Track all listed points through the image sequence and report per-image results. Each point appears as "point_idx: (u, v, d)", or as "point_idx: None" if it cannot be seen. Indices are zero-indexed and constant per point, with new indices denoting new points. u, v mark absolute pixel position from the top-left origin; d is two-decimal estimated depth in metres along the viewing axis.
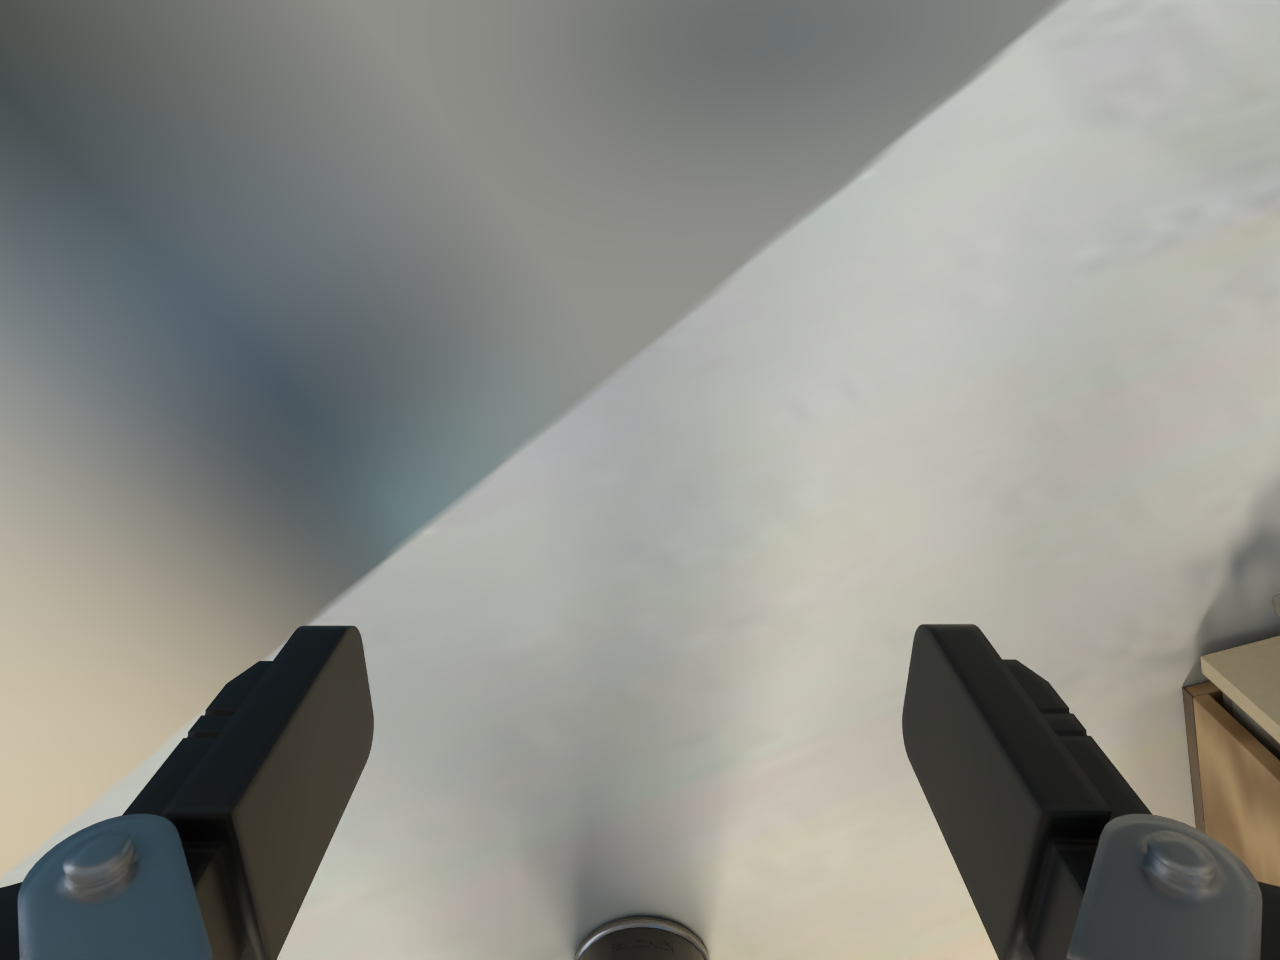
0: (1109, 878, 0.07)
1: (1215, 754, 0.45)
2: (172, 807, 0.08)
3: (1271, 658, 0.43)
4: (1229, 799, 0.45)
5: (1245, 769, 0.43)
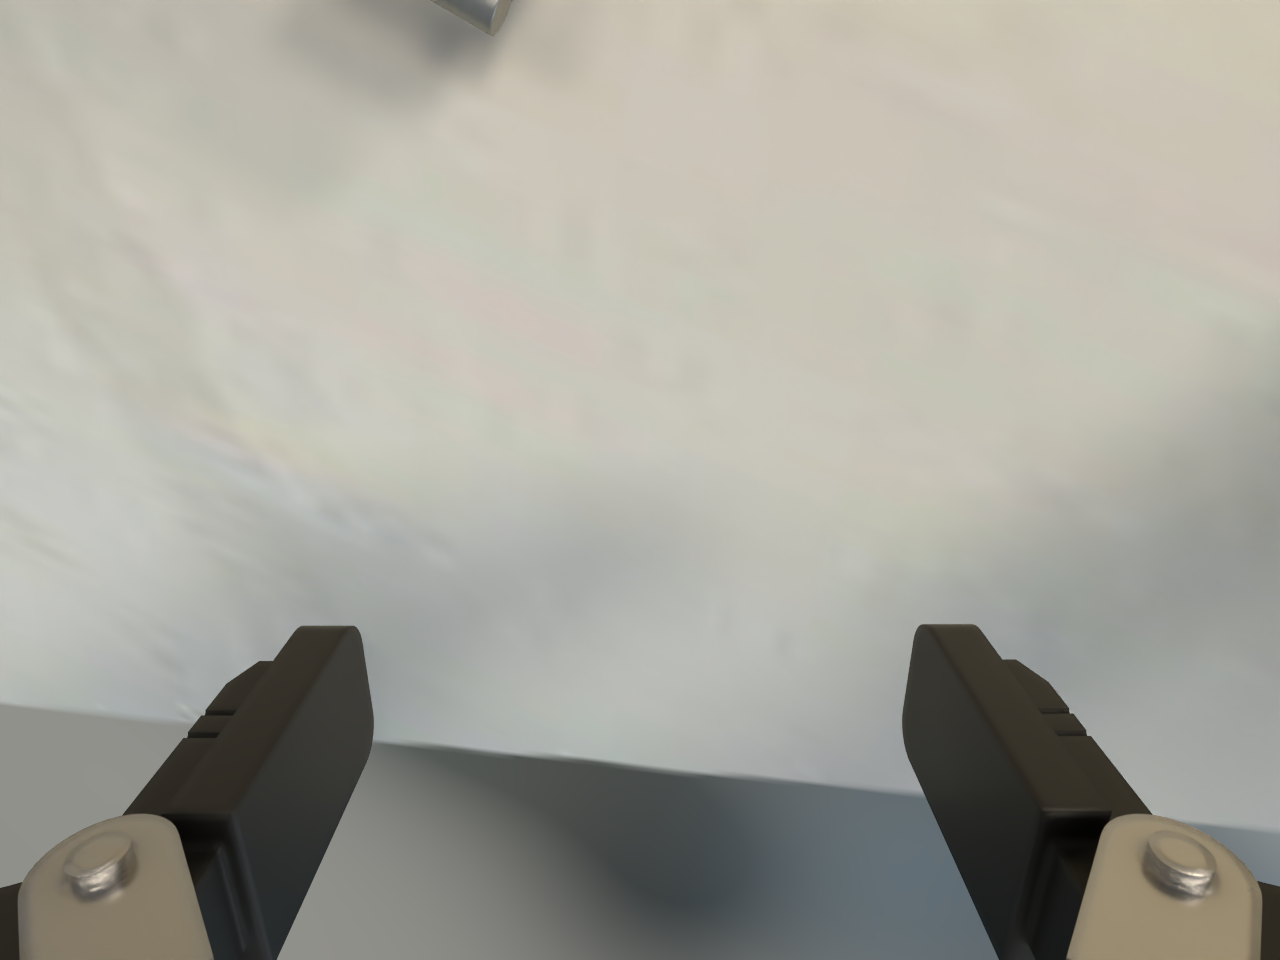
0: (1109, 878, 0.07)
1: None
2: (172, 807, 0.08)
3: None
4: None
5: None
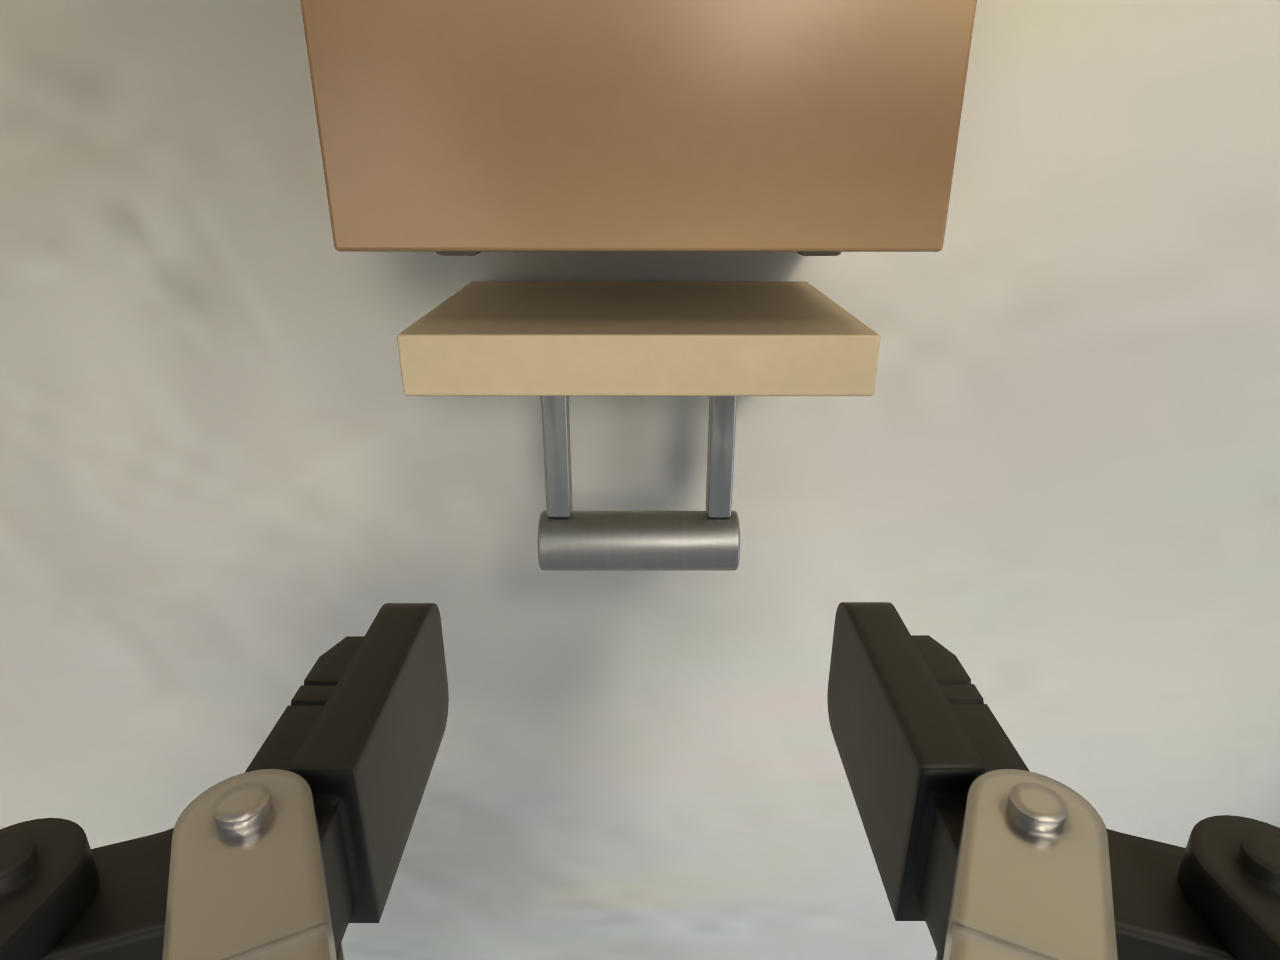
0: (980, 836, 0.07)
1: None
2: (297, 764, 0.08)
3: None
4: None
5: None
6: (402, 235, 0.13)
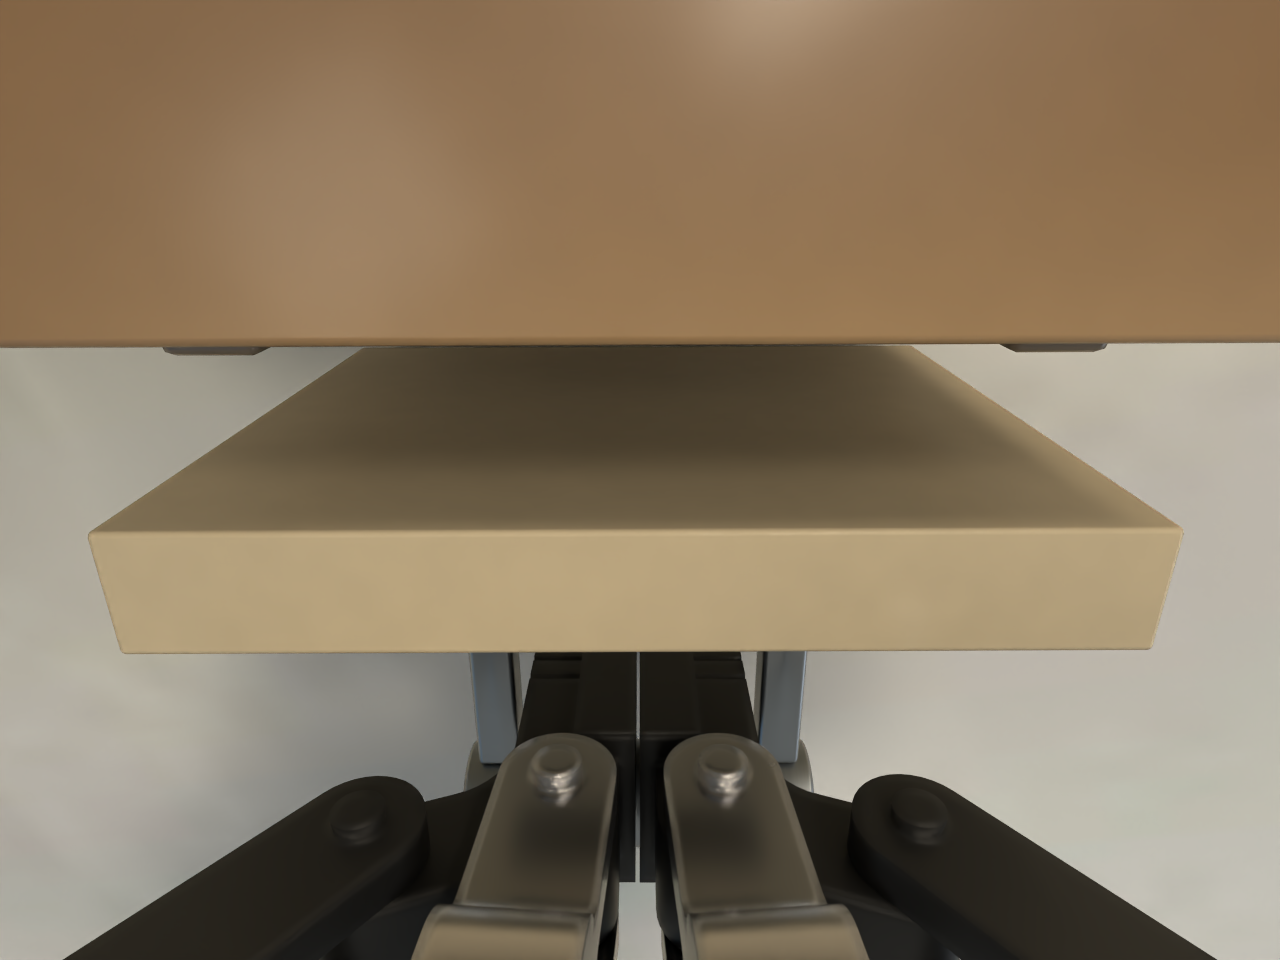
0: (684, 813, 0.08)
1: None
2: (581, 729, 0.09)
3: None
4: None
5: None
6: None
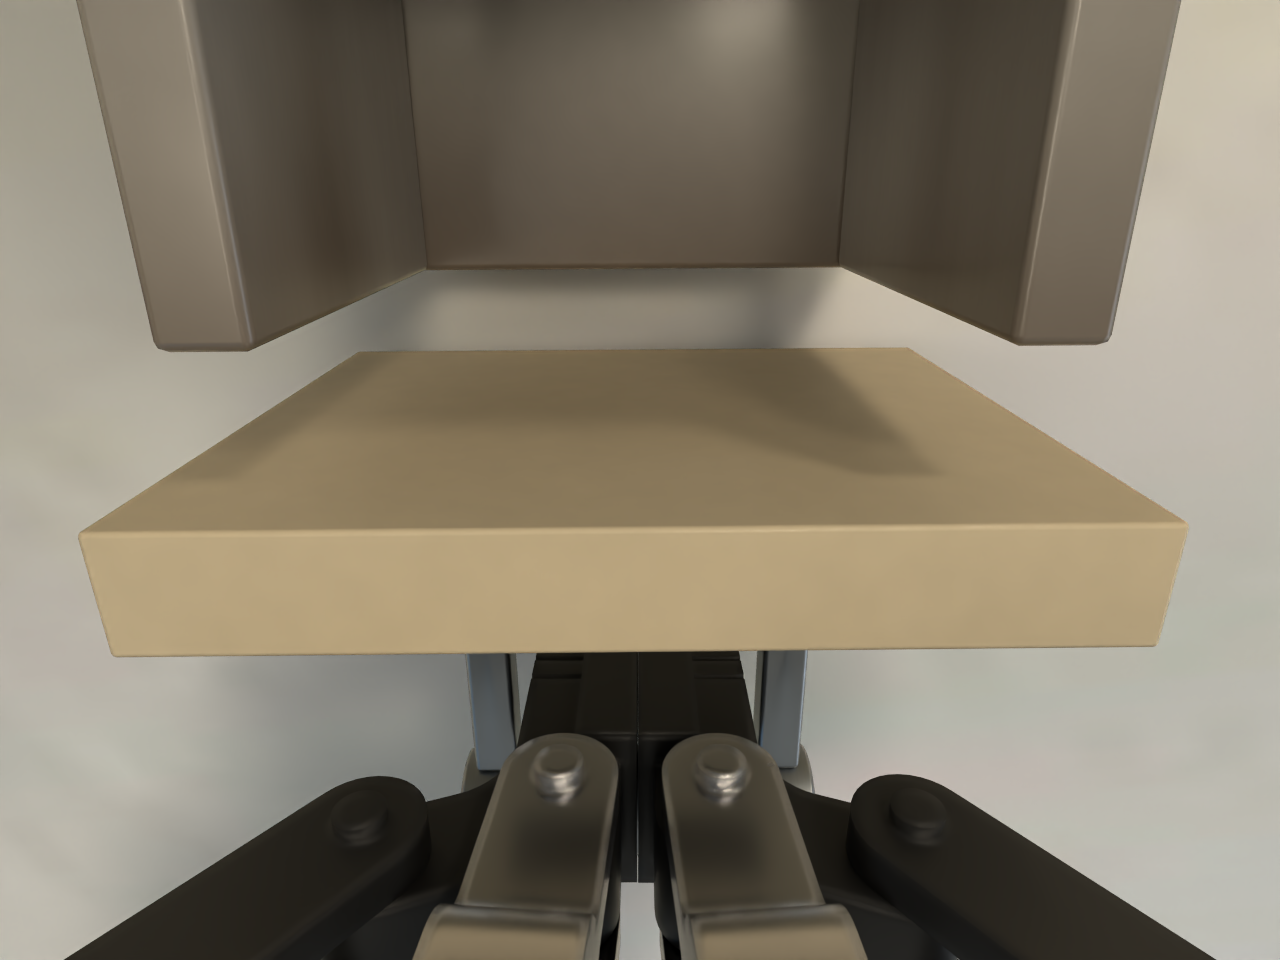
0: (682, 813, 0.08)
1: None
2: (583, 729, 0.09)
3: None
4: None
5: None
6: None
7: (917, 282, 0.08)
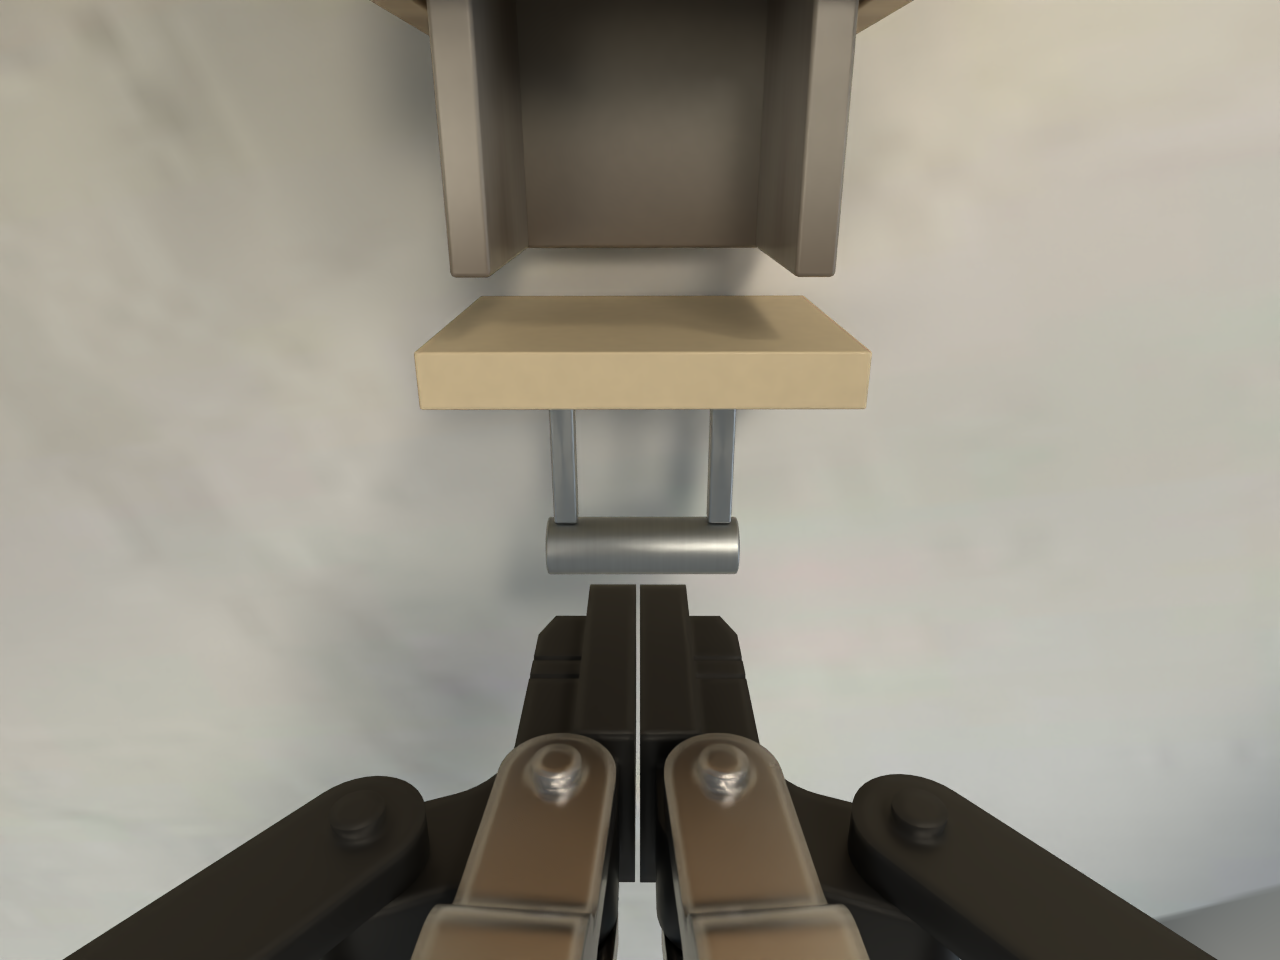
0: (684, 813, 0.08)
1: None
2: (581, 729, 0.09)
3: None
4: None
5: None
6: None
7: (776, 253, 0.17)
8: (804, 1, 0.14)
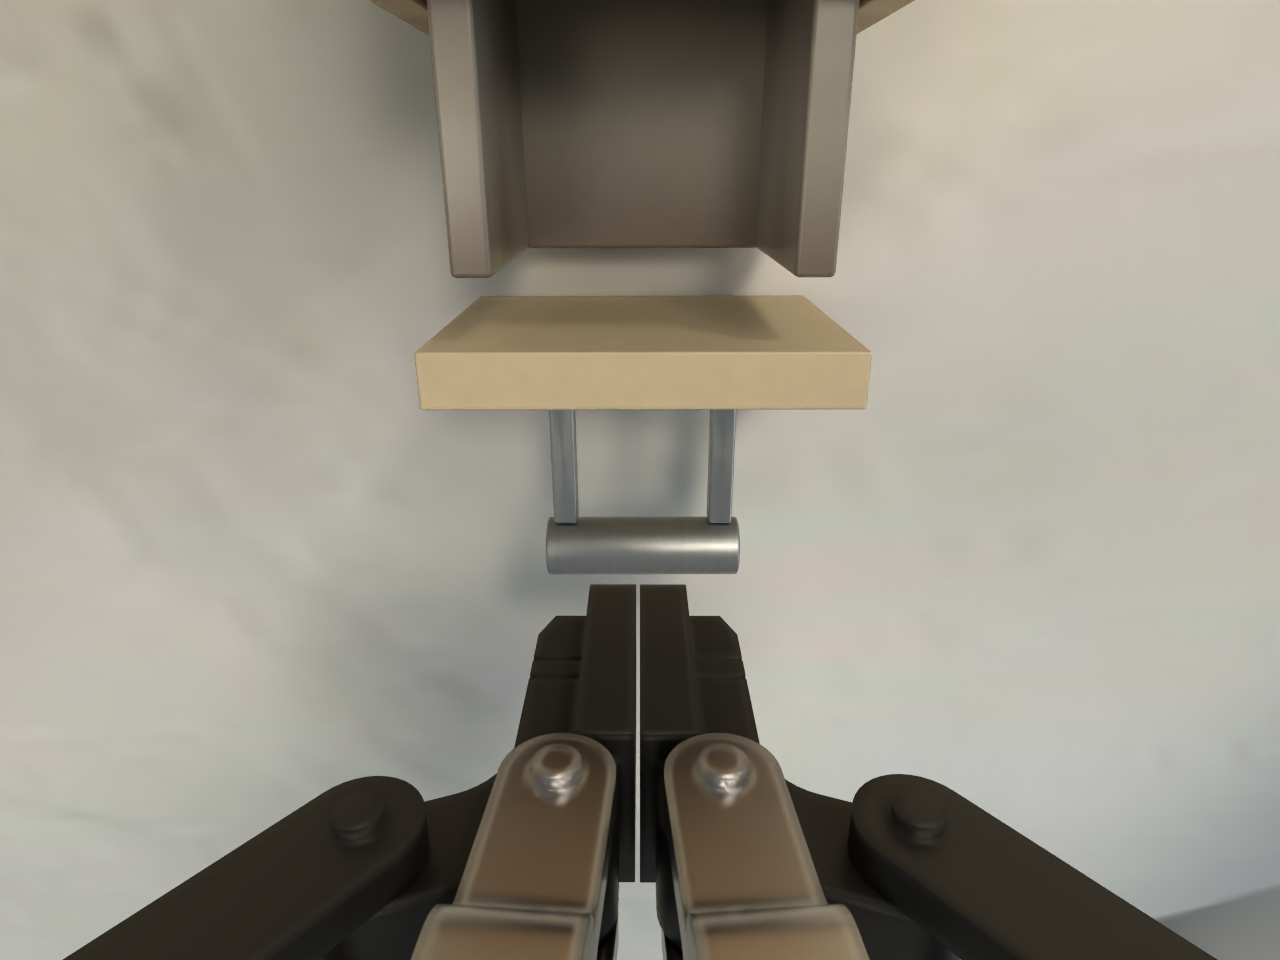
0: (684, 813, 0.08)
1: None
2: (581, 729, 0.09)
3: None
4: None
5: None
6: None
7: (777, 253, 0.17)
8: (804, 1, 0.14)
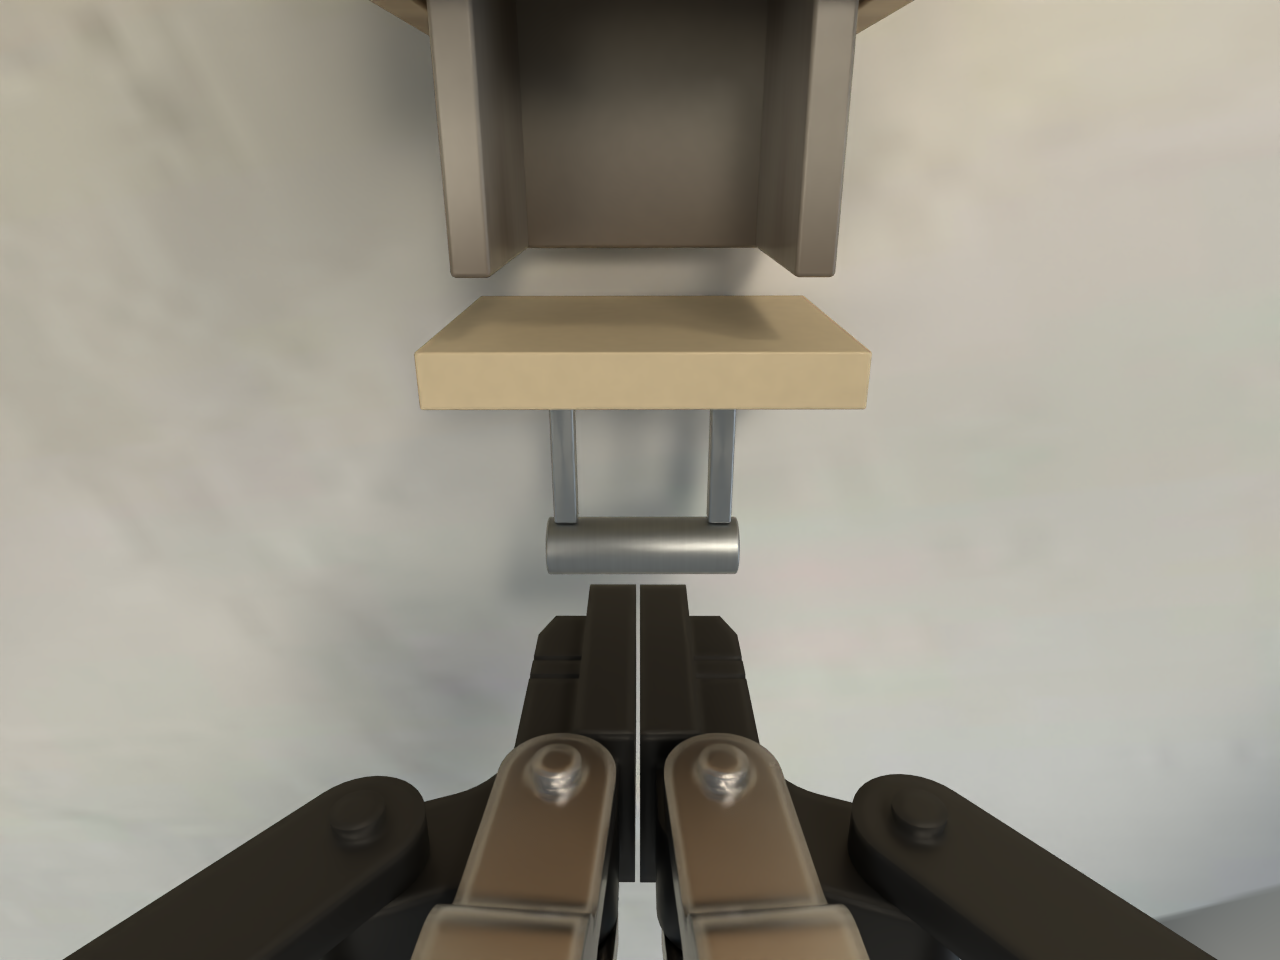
0: (684, 813, 0.08)
1: None
2: (581, 729, 0.09)
3: None
4: None
5: None
6: None
7: (776, 253, 0.17)
8: (804, 1, 0.14)
